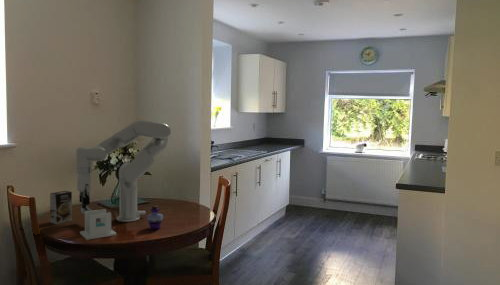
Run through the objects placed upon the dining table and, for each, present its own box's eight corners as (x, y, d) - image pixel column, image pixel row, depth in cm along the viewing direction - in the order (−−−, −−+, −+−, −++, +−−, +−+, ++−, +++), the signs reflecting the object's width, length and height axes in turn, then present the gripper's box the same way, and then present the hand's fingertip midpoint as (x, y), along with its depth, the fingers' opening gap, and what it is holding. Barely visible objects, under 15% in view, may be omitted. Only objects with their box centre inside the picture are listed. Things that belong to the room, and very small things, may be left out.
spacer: (102, 222, 201) (104, 224, 198) (102, 230, 202) (105, 232, 198) (90, 224, 198) (93, 226, 195) (91, 232, 198) (93, 234, 195)
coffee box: (57, 224, 214) (56, 194, 212) (49, 222, 217) (49, 192, 216) (72, 220, 221) (72, 191, 220) (65, 218, 225) (64, 190, 224)
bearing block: (108, 228, 208) (108, 207, 207) (116, 234, 198) (116, 212, 197) (79, 233, 199) (79, 211, 199) (86, 239, 190) (86, 216, 189)
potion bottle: (156, 225, 216) (156, 203, 215) (166, 228, 211) (167, 205, 210) (142, 228, 209) (142, 205, 208) (153, 232, 204) (153, 208, 203)
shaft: (86, 211, 220) (86, 189, 219) (98, 220, 203) (98, 197, 202) (81, 212, 218) (80, 190, 217) (92, 221, 201) (92, 197, 200)
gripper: (72, 168, 221) (73, 201, 222) (81, 173, 207) (81, 207, 208) (87, 167, 225) (87, 199, 227) (96, 172, 211) (96, 205, 213)
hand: (84, 203), depth 218 cm, fingers open, 6 cm apart
